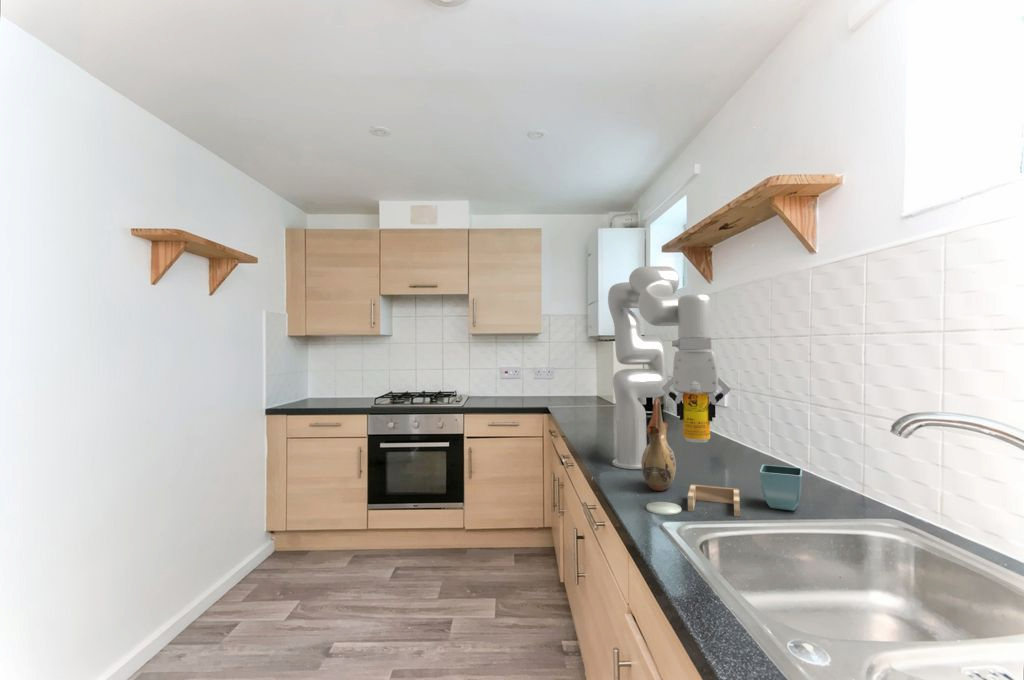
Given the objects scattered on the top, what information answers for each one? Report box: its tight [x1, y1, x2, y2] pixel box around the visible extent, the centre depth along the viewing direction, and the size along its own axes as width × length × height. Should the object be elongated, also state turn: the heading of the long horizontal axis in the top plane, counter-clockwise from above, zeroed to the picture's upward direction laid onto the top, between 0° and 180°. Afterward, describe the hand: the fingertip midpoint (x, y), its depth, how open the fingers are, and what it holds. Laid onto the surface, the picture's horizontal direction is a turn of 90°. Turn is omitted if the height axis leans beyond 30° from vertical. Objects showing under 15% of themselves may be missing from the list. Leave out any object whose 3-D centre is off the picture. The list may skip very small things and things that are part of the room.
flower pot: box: [759, 464, 803, 511], centre depth 120 cm, size 9×9×9 cm
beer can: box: [682, 381, 711, 444], centre depth 120 cm, size 6×6×15 cm
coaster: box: [646, 501, 682, 516], centre depth 119 cm, size 8×8×1 cm
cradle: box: [687, 484, 741, 517], centre depth 120 cm, size 11×11×4 cm
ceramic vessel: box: [641, 397, 677, 492], centre depth 136 cm, size 16×9×25 cm, turn 154°
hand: (696, 419), depth 120 cm, fingers closed on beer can, 6 cm apart
